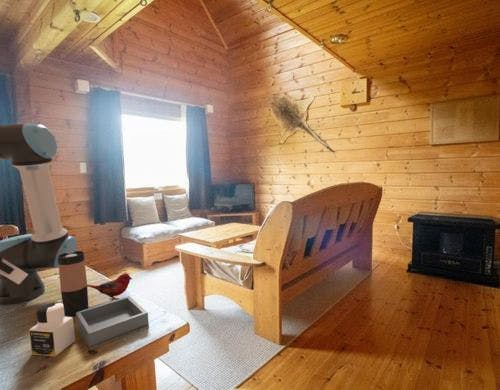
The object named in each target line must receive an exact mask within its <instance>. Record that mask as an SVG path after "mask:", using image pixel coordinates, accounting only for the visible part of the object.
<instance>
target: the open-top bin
mask: <svg viewBox="0 0 500 390" xmlns="http://www.w3.org/2000/svg"><path fill="white" fill-rule="evenodd" d="M75 320H76V326H77V329H78V330H79V332H80V335H82V337H83V339H84V341H85V343H86V345H87V346H88V348H89V350H93V349H96V348H98V347H100V346H103V345H106V344H108V343H111V342H114V341H116V340H119V339H121V338H124V337H126V336H128V335H131V334H134V333H136V332H139V331H142V330H144V329H146V328H150V324H149V312H148V311H147V310H146V309H144V308H143V307H142V305H140V304H139V303H138V302H137V301H135V299H133V298H132V297H131V296H130V295H128V296H125V297H122V298H119V299H118V300H111V301H109V302H105V303H101V304H98V305H95V306H92V307H88V309H85V310H82V311H79V312H76V316H75Z"/></svg>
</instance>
